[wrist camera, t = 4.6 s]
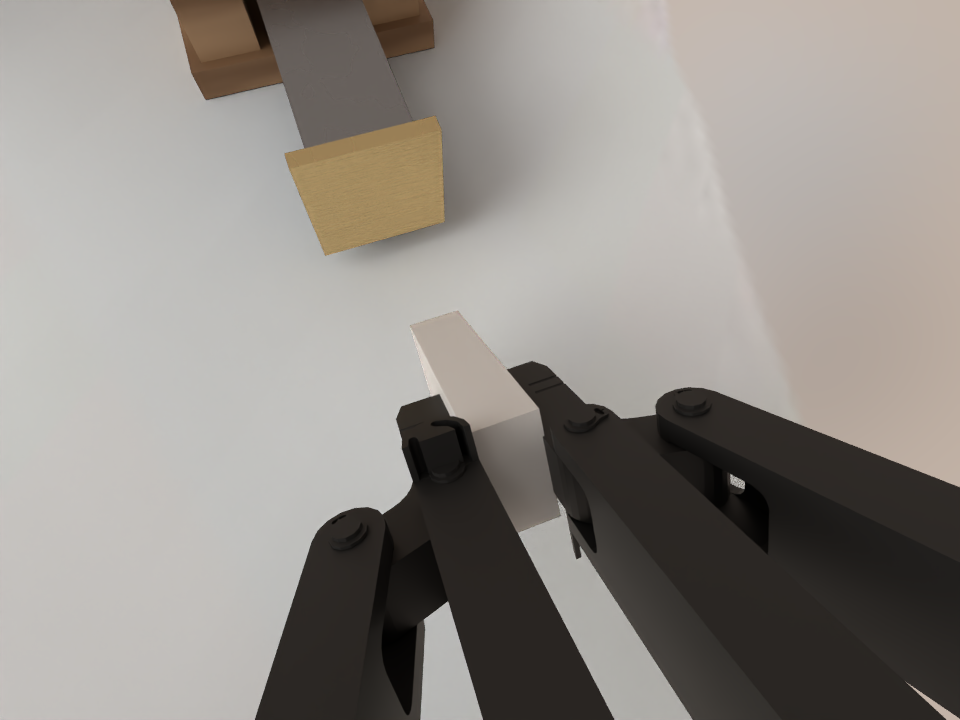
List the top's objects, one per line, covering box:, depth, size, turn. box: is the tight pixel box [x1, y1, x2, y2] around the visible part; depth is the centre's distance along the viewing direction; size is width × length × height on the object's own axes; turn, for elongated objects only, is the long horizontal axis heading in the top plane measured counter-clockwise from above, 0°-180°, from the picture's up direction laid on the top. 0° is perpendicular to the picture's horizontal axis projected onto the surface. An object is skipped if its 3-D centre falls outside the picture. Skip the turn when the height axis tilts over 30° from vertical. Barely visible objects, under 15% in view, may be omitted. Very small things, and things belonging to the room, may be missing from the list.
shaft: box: [257, 0, 445, 256], centre depth 22 cm, size 21×5×5 cm, turn 20°
